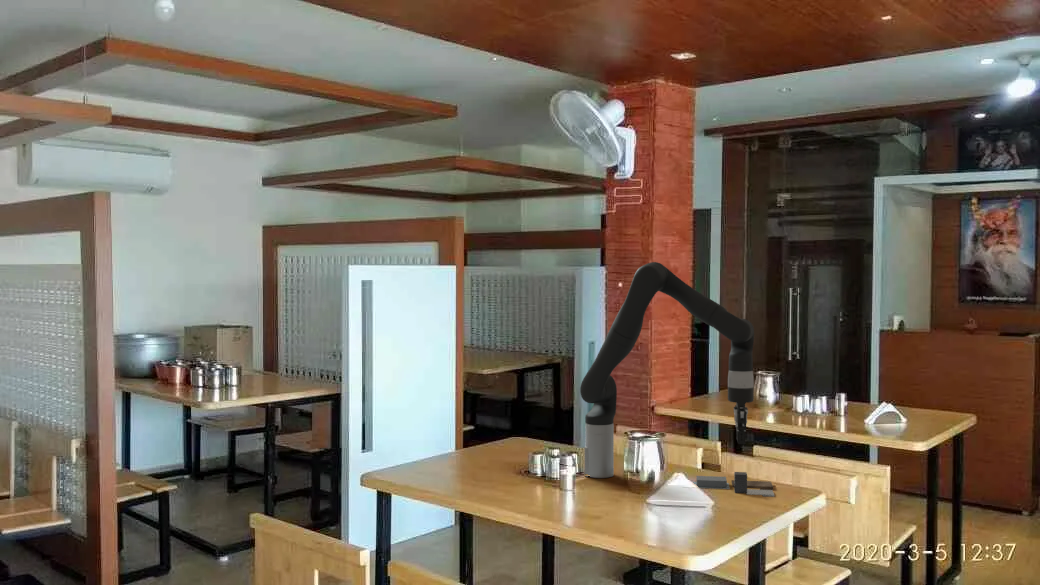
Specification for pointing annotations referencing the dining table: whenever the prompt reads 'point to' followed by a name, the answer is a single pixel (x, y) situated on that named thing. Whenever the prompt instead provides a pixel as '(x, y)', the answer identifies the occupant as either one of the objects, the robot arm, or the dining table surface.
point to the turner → (741, 486)
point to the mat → (714, 487)
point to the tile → (711, 481)
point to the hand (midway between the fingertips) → (740, 441)
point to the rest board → (758, 485)
